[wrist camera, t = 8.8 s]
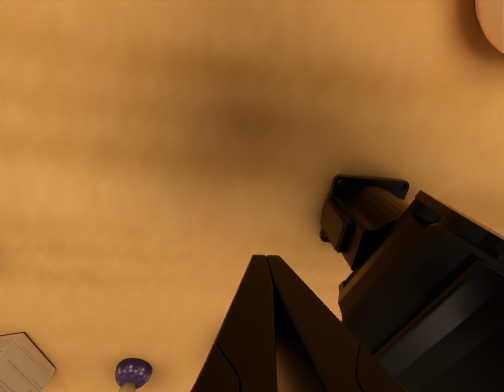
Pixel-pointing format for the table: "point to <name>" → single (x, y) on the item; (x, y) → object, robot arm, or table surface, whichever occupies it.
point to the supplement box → (22, 365)
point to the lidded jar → (492, 21)
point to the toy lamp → (132, 374)
